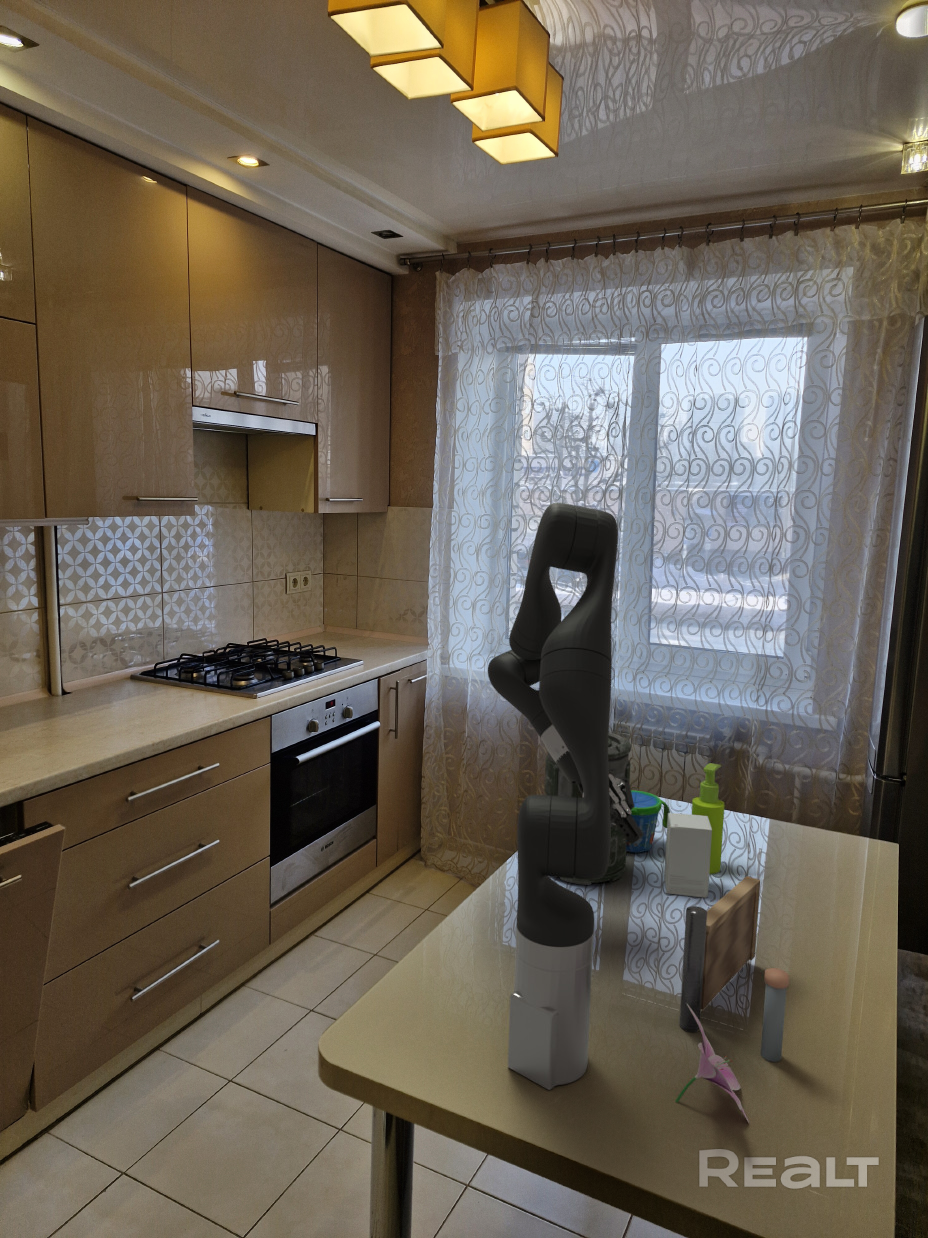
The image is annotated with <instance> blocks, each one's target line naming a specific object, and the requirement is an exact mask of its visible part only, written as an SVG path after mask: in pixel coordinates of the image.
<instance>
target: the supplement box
mask: <svg viewBox="0 0 928 1238" xmlns="http://www.w3.org/2000/svg"><path fill="white" fill-rule="evenodd" d="M711 837H712V828H711V825H710V822H709V819H708V816H701V815H692V814H688V813H674V812H670V813H668V820H667V828H666V839H665V840H666V841H665V855H664V857H665V858H664V859H665V860H664V871H663V872H664V873H663V878H664V886H665V893H666V894H671V895H677V896H684V897H685V896H686V897H695V898H705V899H707V898H708V896H709V882H710V874H709V869H710V852H711Z"/></svg>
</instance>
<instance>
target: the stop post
mask: <svg viewBox="0 0 928 1238" xmlns="http://www.w3.org/2000/svg"><path fill="white" fill-rule="evenodd" d="M763 979H764V982H765V990H764V1004H763V1016H762V1017H763V1019H762V1028H761V1029H762V1031H761V1043H760V1044H761V1045H760V1055H761V1057H762V1058H763V1059H764V1060H765V1061H768V1062H772V1063H773V1062H774V1063H777V1062H780V1061H781V1060H782V1054H783V1053H782V1050H783V1038H784V1025H785V1016H786V1015H785V1013H786V1001H787V1000H786V999H787V988H788V987H789V985H790V975H789V974H788V973H787V971H784V970H782V969H780V968H775V967H771V968H770V967H769V968H766V969H765V971H764V978H763Z"/></svg>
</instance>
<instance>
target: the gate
mask: <svg viewBox="0 0 928 1238" xmlns="http://www.w3.org/2000/svg"><path fill="white" fill-rule="evenodd" d="M760 891H761V879H757V878H755V877H751V876H748V875H746V876H745V877H744V878H743V879H742V880H741V881H740V882H739V883H737V884H736V885H735V886H734V887H733V888H732V889H730V890H729V891H728V892H727V893H726V894H725V895H723V897H722V898H720V899H719V900H718V901H716V902H715V903H714V904H713V905H712V906H711V907H710V908H709V909H707V910H706V911H707V923H706V939H705V954H704V970H703V985H702V1001H701V1011H704V1010H705V1009H706V1008H707V1006H708V1005H709V1004H710V1003H711V1002H712V1001H713V1000H714V998H716V997H717V995H718V994H719V993H720V992H721V991H722V990H723V989H724V988H726V986H727V984H729V982H730V981H731V980H732V979H733V978H734V977H735V976H736V975H737V974H738V972H740V970H742V968H743V967H745V965H746V964H747V963H748V962H749V961H753V959H754V958H755V957H756V949H757V947H756V944H757V935H758V917H759V904H760Z"/></svg>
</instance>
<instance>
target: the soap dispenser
mask: <svg viewBox="0 0 928 1238" xmlns="http://www.w3.org/2000/svg"><path fill="white" fill-rule="evenodd" d="M721 767H722V764H717V763H710V762H709V763H707V765H705V766H704V768H703V772H704V773H705V777H704V778H705V779H704V781H701V782H700V785H699V796H697V797H694V798H692V803H691V815H701V816H708V819H709V822H710V825H711V828H712V837H711V852H710V869H709V875H715V874H717V873H720V872H721V866H722V865H721V864H722V849H723V837H724V836H723V835H724V834H723V833H724V821H725V819H724V818H725V802H724V801H722V800H721V799H719V791H720V790H719V789H720V786H719V783H717V782H716V781H715V779H716V771H717V770H718V769H719V768H721Z"/></svg>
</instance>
